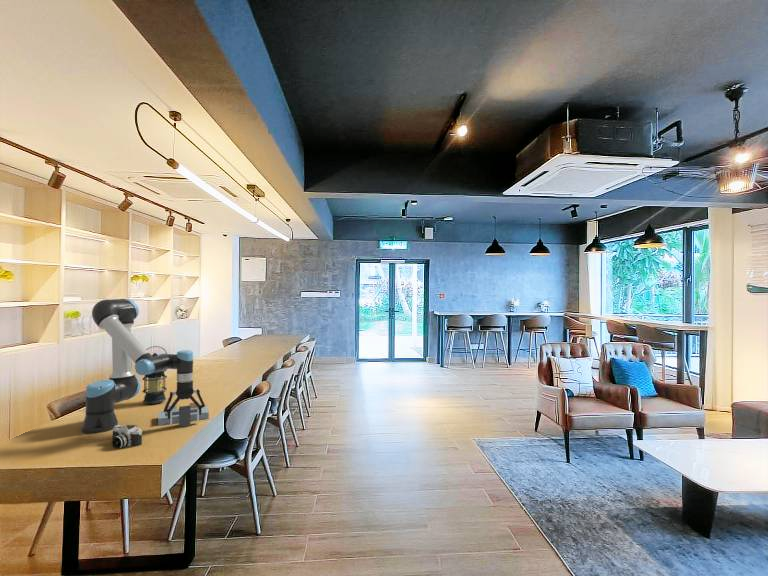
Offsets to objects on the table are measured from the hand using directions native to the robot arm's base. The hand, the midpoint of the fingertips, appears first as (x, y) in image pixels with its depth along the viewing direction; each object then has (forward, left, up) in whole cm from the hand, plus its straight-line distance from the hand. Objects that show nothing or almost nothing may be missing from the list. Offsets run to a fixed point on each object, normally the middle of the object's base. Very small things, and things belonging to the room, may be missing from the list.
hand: (184, 423), depth 208 cm
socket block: (-9, +9, -2) cm, 13 cm away
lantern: (-49, +29, -2) cm, 57 cm away
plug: (0, 0, -2) cm, 2 cm away
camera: (-7, -30, -2) cm, 30 cm away
